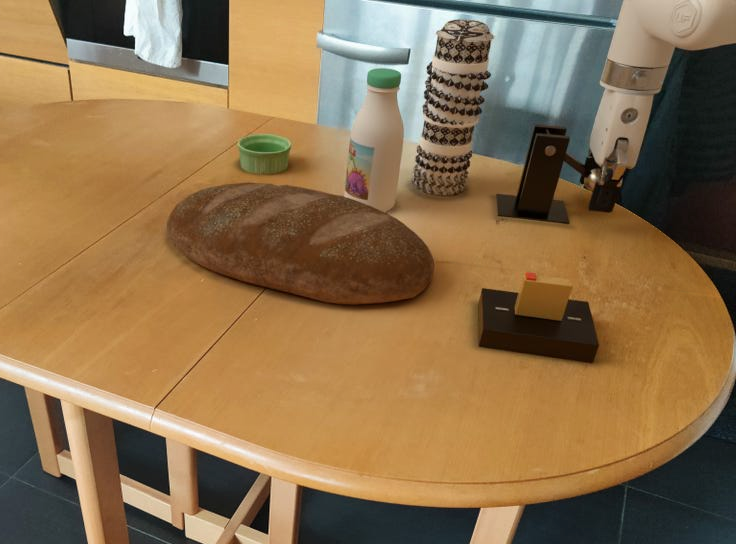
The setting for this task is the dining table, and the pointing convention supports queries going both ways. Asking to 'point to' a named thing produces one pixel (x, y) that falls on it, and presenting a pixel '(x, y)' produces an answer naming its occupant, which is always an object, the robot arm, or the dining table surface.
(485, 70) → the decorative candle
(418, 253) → the bread
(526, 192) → the latch bracket
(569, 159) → the latch lever
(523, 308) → the lock knob
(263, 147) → the ramekin
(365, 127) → the milk bottle
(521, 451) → the dining table surface
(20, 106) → the dining table surface
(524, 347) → the plate
